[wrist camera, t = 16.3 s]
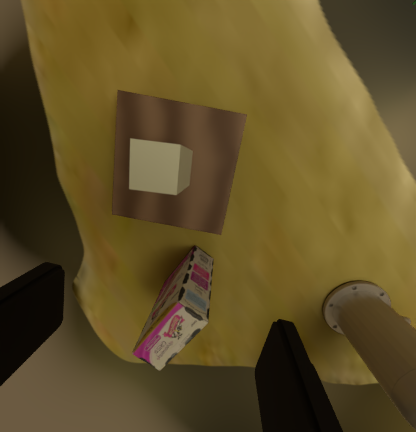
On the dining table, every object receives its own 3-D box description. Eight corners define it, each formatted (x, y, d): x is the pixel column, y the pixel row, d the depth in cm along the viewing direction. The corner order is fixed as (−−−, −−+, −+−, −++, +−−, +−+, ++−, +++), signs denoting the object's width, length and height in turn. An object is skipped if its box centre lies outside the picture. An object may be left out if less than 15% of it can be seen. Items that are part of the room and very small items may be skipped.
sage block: (192, 151, 30) (180, 144, 20) (189, 185, 31) (176, 195, 21) (158, 146, 30) (130, 138, 20) (156, 181, 31) (129, 189, 21)
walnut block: (242, 121, 34) (246, 114, 28) (220, 223, 39) (221, 234, 33) (135, 101, 34) (117, 90, 28) (127, 205, 39) (112, 214, 33)
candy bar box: (194, 243, 40) (177, 300, 24) (214, 257, 40) (211, 322, 25) (162, 281, 42) (129, 355, 27) (181, 294, 43) (160, 374, 27)
